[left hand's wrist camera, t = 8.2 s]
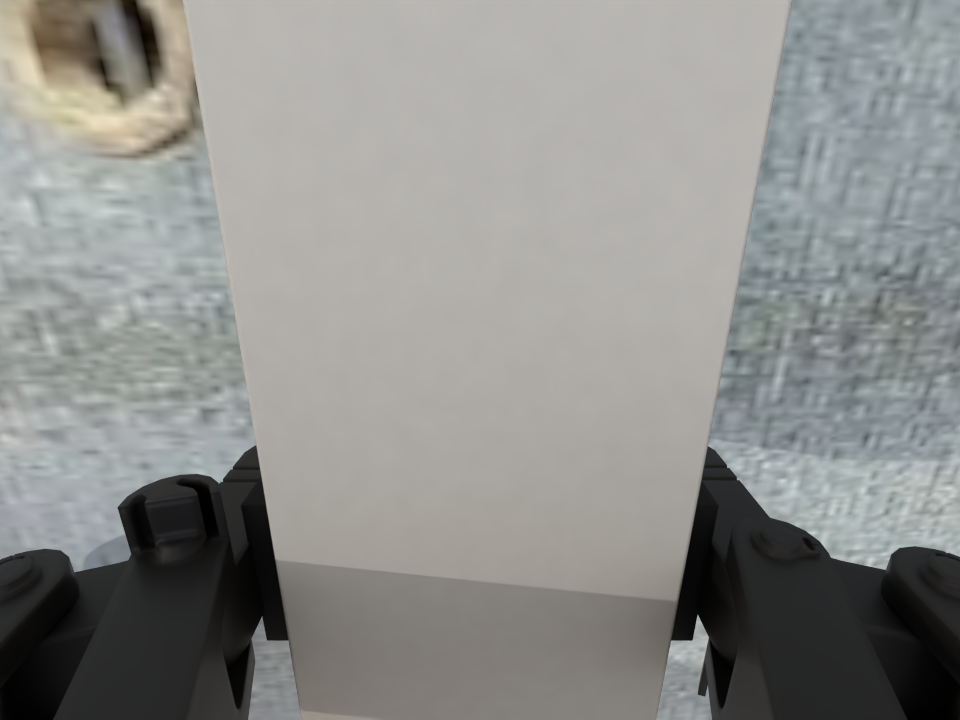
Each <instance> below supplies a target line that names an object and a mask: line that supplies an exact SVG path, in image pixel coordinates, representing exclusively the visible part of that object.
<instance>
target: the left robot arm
mask: <svg viewBox="0 0 960 720" xmlns="http://www.w3.org/2000/svg"><path fill="white" fill-rule="evenodd" d="M118 510H119V514H120V517H121V520H122V524H123V527H124V530H125V534H126V537H127V540H128V544H129V547H130V551H131V556H130V558H129V560H128V561H124V562H121V563H117V564H112V565H107V566H103V567H98V568H93V569H89V570H84V571H79V572H75V573H74V570H73V567H72V565H71V562H70V559H69V557H68V556H67V555H66V554H64V553H63V552H62V551H60V550H51V549H41V550H34V551H27V552H23V553H19V554H15V555H14V556H9V557H6V558H3V559H1V560H0V720H248V715H249V707H250V699H251V691H252V683H253V674H254V666H255V657H254V649H253V645H252V640H251V638H252V636H253V634H254V632H255V630H256V628H257V626H258V623H259V621H260V619H261V617H263V622H264V627H265V632H266V637H267V640H289V639H288V633H287V627H286V621H285V615H284V609H283V603H282V597H281V591H280V585H279V579H278V573H277V567H276V561H275V555H274V549H273V543H272V537H271V531H270V525H269V519H268V513H267V507H266V501H265V495H264V488H263V482H262V476H261V470H260V464H259V458H258V452H257V446H254V447H253V448H251V449H249V450H248V451H246V452H245V453H244V454H243V455H242V456H241V458H240V459H239V460H238V461H237V463H236V464H235V465H234V466H233V470H230V471H229V473H228V474H227V475H226V476H225V477H224V479H223V482H220V484H218V482H217V481H215V480H214V479H213V478H212V477H209V476H204V475H200V474H188V475H178V476H173V477H169V478H165V479H161V480H158V481H156V482H153V483H151V484H148V485H146V486H143V487H142V488H140V489H139V490H137V491H135V492H134V493H132V494H131V495H129V496H128V497H127V498H126V499H125V500H124V501H123V502H122V503H121V504H120V505H119V506H118ZM697 614H698V615H699V618H700V620H701V622H702V624H703V626H704V628H705V630H706V632H707V634H708V636H709V640H708V645H707V649H706V654H705V659H704V664H703V668H702V673H701V678H700V682H699V690H698V695H702V696H705V695H706V690H707V686H708V689H709V698H710V706H711V714H712V720H960V557H958V556H956V555H953V554H950V553H946V552H944V551H940V550H936V549H929V548H923V547H916V546H914V547H905V548H899V549H898V550H897V551H895V552H894V553H893V554H891V557H890V560H889V563H888V566H887V569H886V570H882V569H878V568H873V567H868V566H864V565H859V564H854V563H849V562H845V561H840V560H837V559H833V558H831V557H830V555H829V553H828V552H827V551H826V549H825V548H824V547H823V545H822V544H821V543H820V541H818V540H817V539H816V538H814V537H813V536H811V535H810V534H809V533H807V532H806V531H805V530H802V529H800V528H798V527H796V526H794V525H792V524H790V523H787V522H783V521H780V520H776V519H772V518H770V517H769V516H768V515H767V514H766V512H765V511H764V510H763V509H762V508H761V506H760V505H759V504H758V503H757V501H756V500H755V499H754V498H753V497H752V495H751V494H750V493H749V492H748V490H747V489H746V488H745V487H744V486H743V484H742V483H741V482H740V481H739V480H737V477H736V476H735V475H734V473H733V472H732V471H731V470H730V468H727V465H726V463H725V462H724V461H723V460H722V459H721V457H720V456H719V455H718V454H717V452H716V451H715V450H713V449H712V448H710V447H707V453H706V458H705V463H704V469H703V474H702V479H701V484H700V490H699V495H698V500H697V506H696V511H695V516H694V521H693V527H692V532H691V537H690V542H689V548H688V553H687V558H686V564H685V569H684V574H683V579H682V585H681V590H680V595H679V601H678V606H677V611H676V616H675V622H674V627H673V632H672V637H671V640H693V635H694V630H695V625H696V620H697Z"/></svg>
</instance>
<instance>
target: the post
mask: <svg viewBox="0 0 960 720" xmlns="http://www.w3.org/2000/svg"><path fill="white" fill-rule="evenodd" d="M791 4H792V0H183V6H184V12H185V18H186V24H187V30H188V36H189V42H190V48H191V54H192V60H193V66H194V72H195V78H196V84H197V90H198V96H199V102H200V108H201V114H202V120H203V126H204V132H205V138H206V144H207V151H208V157H209V163H210V169H211V175H212V181H213V187H214V193H215V199H216V205H217V211H218V217H219V223H220V229H221V235H222V241H223V247H224V253H225V259H226V265H227V271H228V277H229V283H230V289H231V295H232V301H233V307H234V313H235V319H236V326H237V332H238V338H239V344H240V350H241V356H242V362H243V368H244V374H245V380H246V386H247V392H248V398H249V404H250V410H251V416H252V422H253V428H254V434H255V440H256V446H257V452H258V458H259V464H260V470H261V476H262V482H263V488H264V495H265V501H266V507H267V513H268V519H269V525H270V531H271V537H272V543H273V549H274V555H275V561H276V567H277V573H278V579H279V585H280V591H281V597H282V603H283V609H284V615H285V621H286V627H287V633H288V639H289V645H290V651H291V657H292V663H293V670H294V676H295V682H296V688H297V694H298V700H299V706H300V712H301V718H302V720H656V717H657V711H658V706H659V701H660V696H661V690H662V685H663V680H664V674H665V669H666V664H667V659H668V653H669V648H670V643H671V637H672V632H673V627H674V622H675V616H676V611H677V606H678V601H679V595H680V590H681V585H682V579H683V574H684V569H685V564H686V558H687V553H688V548H689V542H690V537H691V532H692V527H693V521H694V516H695V511H696V506H697V500H698V495H699V490H700V484H701V479H702V474H703V469H704V463H705V458H706V453H707V447H708V442H709V437H710V432H711V426H712V421H713V416H714V410H715V405H716V400H717V395H718V389H719V384H720V379H721V374H722V368H723V363H724V358H725V352H726V347H727V342H728V337H729V331H730V326H731V321H732V315H733V310H734V305H735V300H736V294H737V289H738V284H739V278H740V273H741V268H742V263H743V257H744V252H745V247H746V242H747V236H748V231H749V226H750V220H751V215H752V210H753V205H754V199H755V194H756V189H757V183H758V178H759V173H760V168H761V162H762V157H763V152H764V146H765V141H766V136H767V131H768V125H769V120H770V115H771V110H772V104H773V99H774V94H775V88H776V83H777V78H778V73H779V67H780V62H781V57H782V51H783V46H784V41H785V36H786V30H787V25H788V20H789V14H790V9H791Z"/></svg>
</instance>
